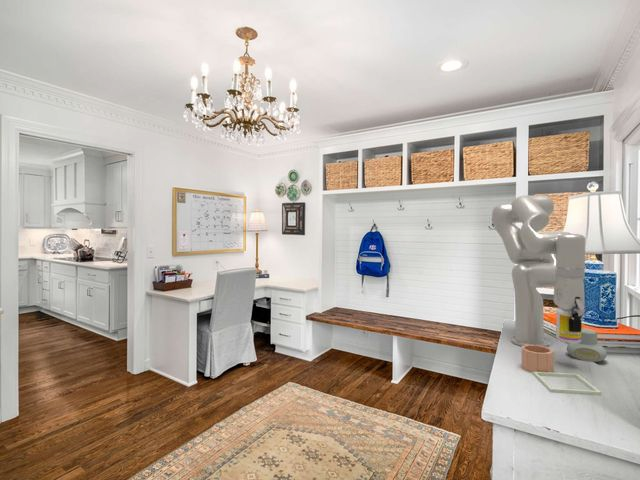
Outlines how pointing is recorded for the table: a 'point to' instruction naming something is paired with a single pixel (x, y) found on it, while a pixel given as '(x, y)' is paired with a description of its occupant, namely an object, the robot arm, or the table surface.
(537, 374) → the tray
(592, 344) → the air freshener
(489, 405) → the table surface
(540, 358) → the pot
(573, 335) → the supplement bottle
